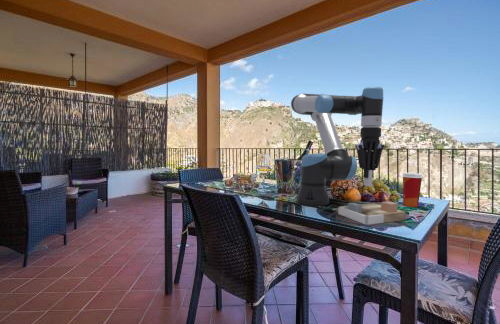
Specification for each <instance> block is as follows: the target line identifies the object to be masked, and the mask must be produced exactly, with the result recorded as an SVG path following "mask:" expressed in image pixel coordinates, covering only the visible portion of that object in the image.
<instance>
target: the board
mask: <svg viewBox="0 0 500 324" xmlns="http://www.w3.org/2000/svg"><path fill="white" fill-rule="evenodd" d="M361 205H362V206H361V214H364V215H367V216H370V215H379V214H383V215H384V222H383V223H382V224H384V223H385V224H386V223H392V222H394V223H395V222H399V221H405V220H406V218H407V217H406V216H407V214H406V211H403V210H400V209H397V211H396V212H387V211H384V210H381V204H378V203H373V202H372V203H363V204H362V203H361Z"/></svg>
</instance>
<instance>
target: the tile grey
mask: <svg viewBox="0 0 500 324" xmlns="http://www.w3.org/2000/svg"><path fill="white" fill-rule="evenodd" d="M347 206H348V210H351V211H354V212H357V213H360V214H361V206H362V204H359V203H357V202H350V203H349V202H348V203H347Z"/></svg>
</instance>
